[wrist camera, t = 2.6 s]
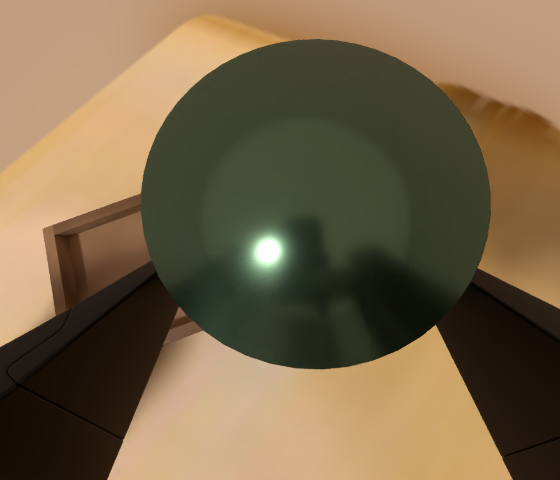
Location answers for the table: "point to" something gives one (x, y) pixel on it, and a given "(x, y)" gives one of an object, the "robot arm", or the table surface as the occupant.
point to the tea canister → (315, 204)
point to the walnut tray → (101, 256)
